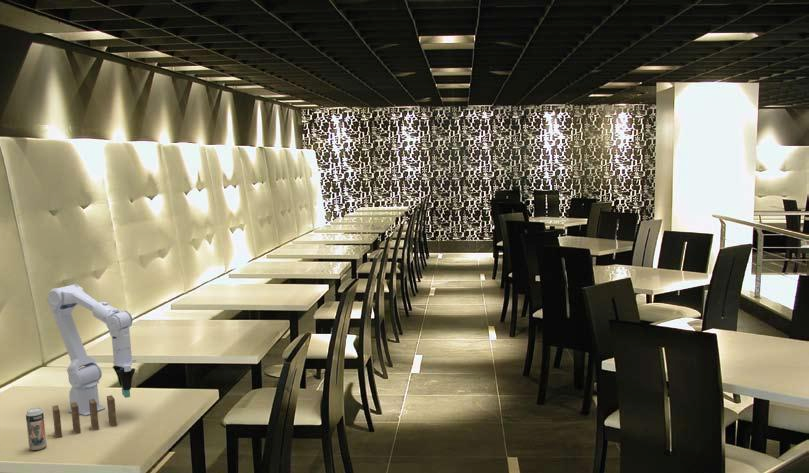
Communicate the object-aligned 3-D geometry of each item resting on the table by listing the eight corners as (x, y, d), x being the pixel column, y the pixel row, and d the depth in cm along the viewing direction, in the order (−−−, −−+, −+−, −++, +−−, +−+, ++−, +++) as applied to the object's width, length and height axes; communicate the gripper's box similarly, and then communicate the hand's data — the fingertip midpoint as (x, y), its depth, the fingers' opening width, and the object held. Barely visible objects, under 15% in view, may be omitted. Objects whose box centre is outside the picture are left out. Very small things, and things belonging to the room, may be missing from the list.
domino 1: (56, 438, 246) (53, 410, 245) (54, 433, 250) (52, 406, 249) (62, 437, 247) (59, 409, 246) (60, 432, 251) (57, 405, 250)
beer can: (29, 452, 235) (25, 414, 233) (29, 447, 239) (25, 409, 237) (47, 449, 237) (43, 410, 235) (46, 444, 241) (42, 406, 240)
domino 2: (75, 434, 249) (72, 407, 248) (73, 429, 253) (70, 402, 252) (80, 433, 249) (78, 405, 248) (78, 428, 254) (76, 401, 253)
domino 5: (125, 397, 260) (122, 371, 259) (122, 394, 264) (119, 368, 263) (130, 396, 261) (128, 370, 260) (127, 393, 265) (125, 367, 264)
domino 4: (111, 426, 254) (109, 400, 253) (108, 422, 258) (106, 396, 257) (116, 425, 255) (114, 399, 254) (114, 421, 259) (111, 395, 258)
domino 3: (93, 430, 251) (91, 403, 250) (91, 426, 256) (88, 399, 255) (99, 429, 252) (96, 402, 251) (96, 425, 256) (94, 398, 255)
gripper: (139, 350, 256) (142, 390, 258) (129, 342, 269) (133, 380, 270) (116, 354, 253) (120, 394, 254) (108, 345, 265) (111, 384, 267)
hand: (125, 387), depth 262 cm, fingers closed on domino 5, 5 cm apart
